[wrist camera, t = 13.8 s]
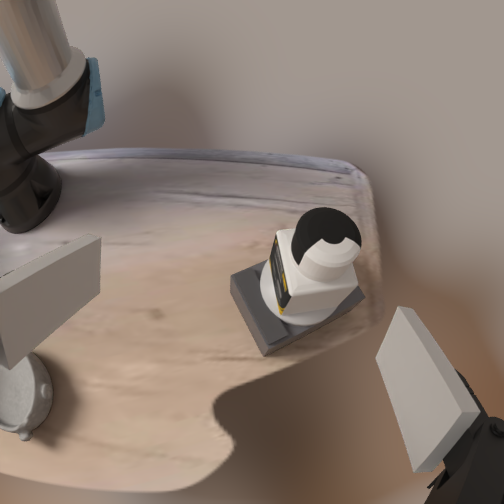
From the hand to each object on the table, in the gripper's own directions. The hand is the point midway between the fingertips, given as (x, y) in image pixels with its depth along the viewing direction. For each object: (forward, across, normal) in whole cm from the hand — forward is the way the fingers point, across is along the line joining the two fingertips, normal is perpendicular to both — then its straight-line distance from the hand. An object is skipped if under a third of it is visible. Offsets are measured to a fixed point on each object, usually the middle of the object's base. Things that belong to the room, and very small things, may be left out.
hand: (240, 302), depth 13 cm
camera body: (+29, +6, -13) cm, 32 cm away
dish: (+12, -30, -31) cm, 44 cm away
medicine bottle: (+24, +6, -8) cm, 26 cm away
